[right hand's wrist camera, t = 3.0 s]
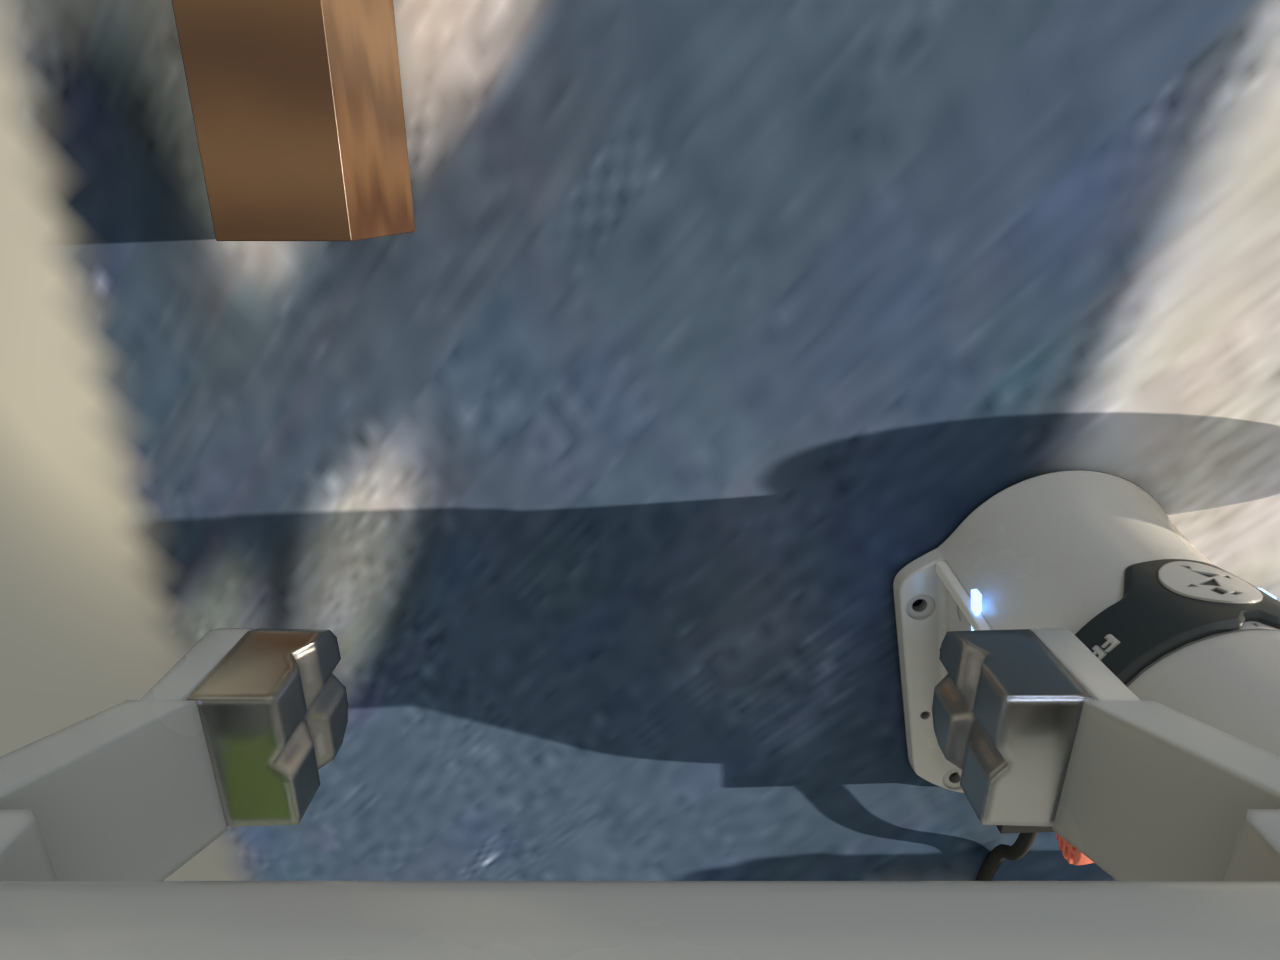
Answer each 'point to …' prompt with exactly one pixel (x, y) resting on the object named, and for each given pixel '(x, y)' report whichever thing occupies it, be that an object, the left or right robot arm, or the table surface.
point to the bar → (298, 117)
